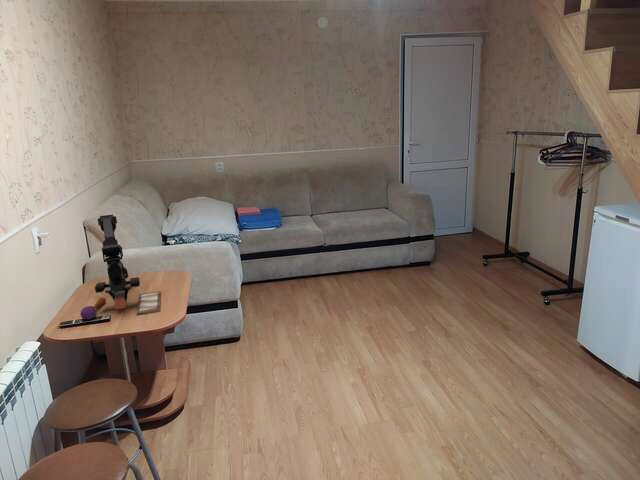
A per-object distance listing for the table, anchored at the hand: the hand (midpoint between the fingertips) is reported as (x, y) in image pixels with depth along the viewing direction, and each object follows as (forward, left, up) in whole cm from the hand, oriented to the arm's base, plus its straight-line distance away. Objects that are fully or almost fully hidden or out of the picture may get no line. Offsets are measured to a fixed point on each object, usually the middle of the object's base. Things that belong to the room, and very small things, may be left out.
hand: (121, 301), depth 216 cm
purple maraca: (0, -12, -4) cm, 12 cm away
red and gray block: (0, 0, -1) cm, 1 cm away
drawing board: (0, +12, -3) cm, 12 cm away
